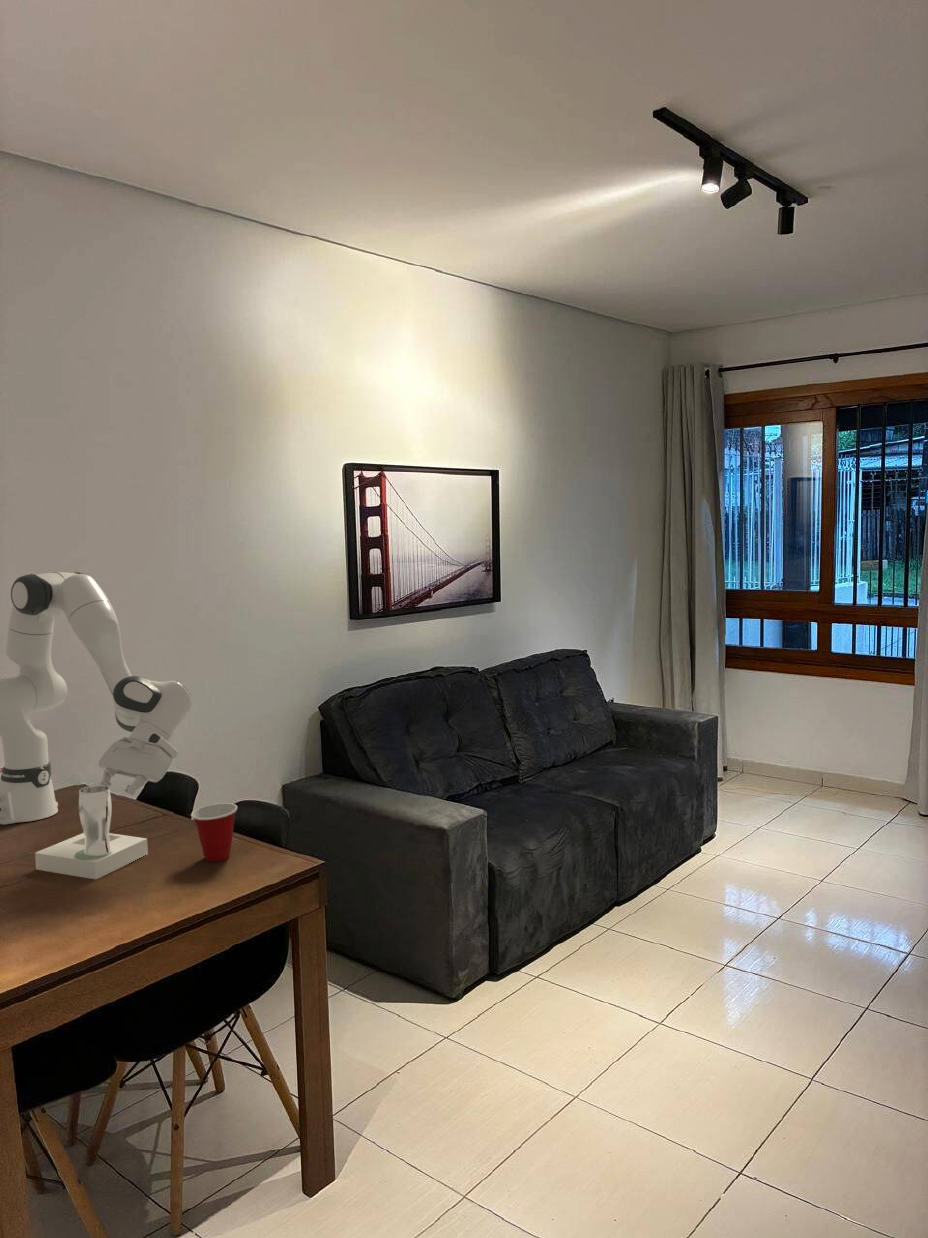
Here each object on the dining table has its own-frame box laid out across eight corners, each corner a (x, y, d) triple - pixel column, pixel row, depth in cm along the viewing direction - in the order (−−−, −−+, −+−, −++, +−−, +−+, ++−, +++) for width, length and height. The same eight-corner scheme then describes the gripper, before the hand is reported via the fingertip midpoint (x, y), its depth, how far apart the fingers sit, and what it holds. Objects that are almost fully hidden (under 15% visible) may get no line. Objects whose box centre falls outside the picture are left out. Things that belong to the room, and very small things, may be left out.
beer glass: (118, 847, 218) (114, 784, 217) (107, 857, 211) (104, 793, 210) (88, 847, 218) (84, 785, 217) (76, 858, 211) (73, 793, 210)
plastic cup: (191, 853, 226) (188, 805, 225) (236, 847, 230) (234, 800, 228) (194, 868, 216) (192, 818, 215) (242, 862, 220) (240, 812, 218)
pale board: (36, 869, 216) (34, 851, 216) (90, 846, 232) (89, 829, 232) (96, 879, 210) (95, 861, 209) (148, 854, 225) (147, 837, 225)
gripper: (112, 729, 230) (79, 777, 223) (167, 739, 219) (134, 790, 212) (128, 743, 234) (96, 791, 227) (183, 753, 223) (151, 804, 216)
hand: (115, 790), depth 219 cm, fingers open, 8 cm apart
